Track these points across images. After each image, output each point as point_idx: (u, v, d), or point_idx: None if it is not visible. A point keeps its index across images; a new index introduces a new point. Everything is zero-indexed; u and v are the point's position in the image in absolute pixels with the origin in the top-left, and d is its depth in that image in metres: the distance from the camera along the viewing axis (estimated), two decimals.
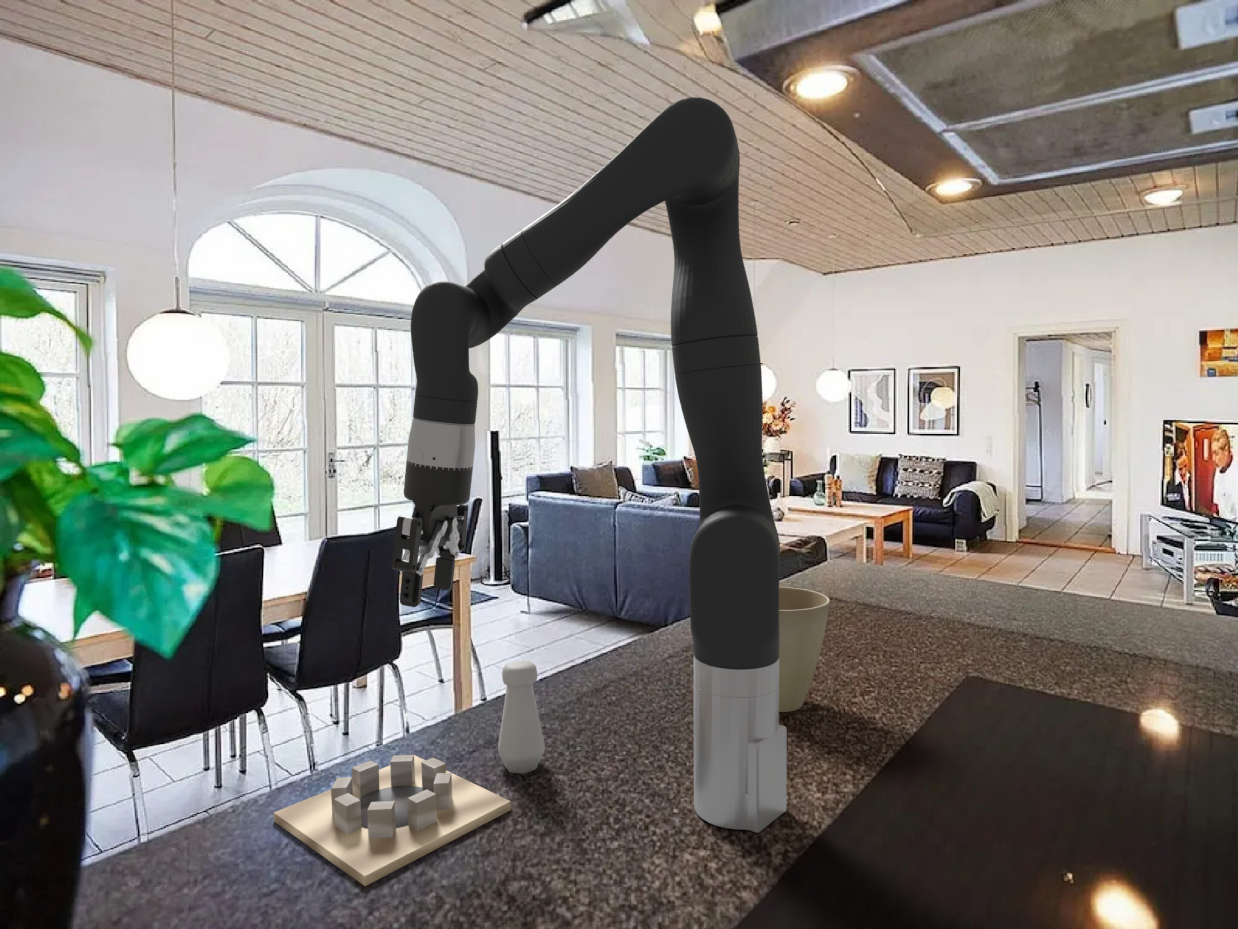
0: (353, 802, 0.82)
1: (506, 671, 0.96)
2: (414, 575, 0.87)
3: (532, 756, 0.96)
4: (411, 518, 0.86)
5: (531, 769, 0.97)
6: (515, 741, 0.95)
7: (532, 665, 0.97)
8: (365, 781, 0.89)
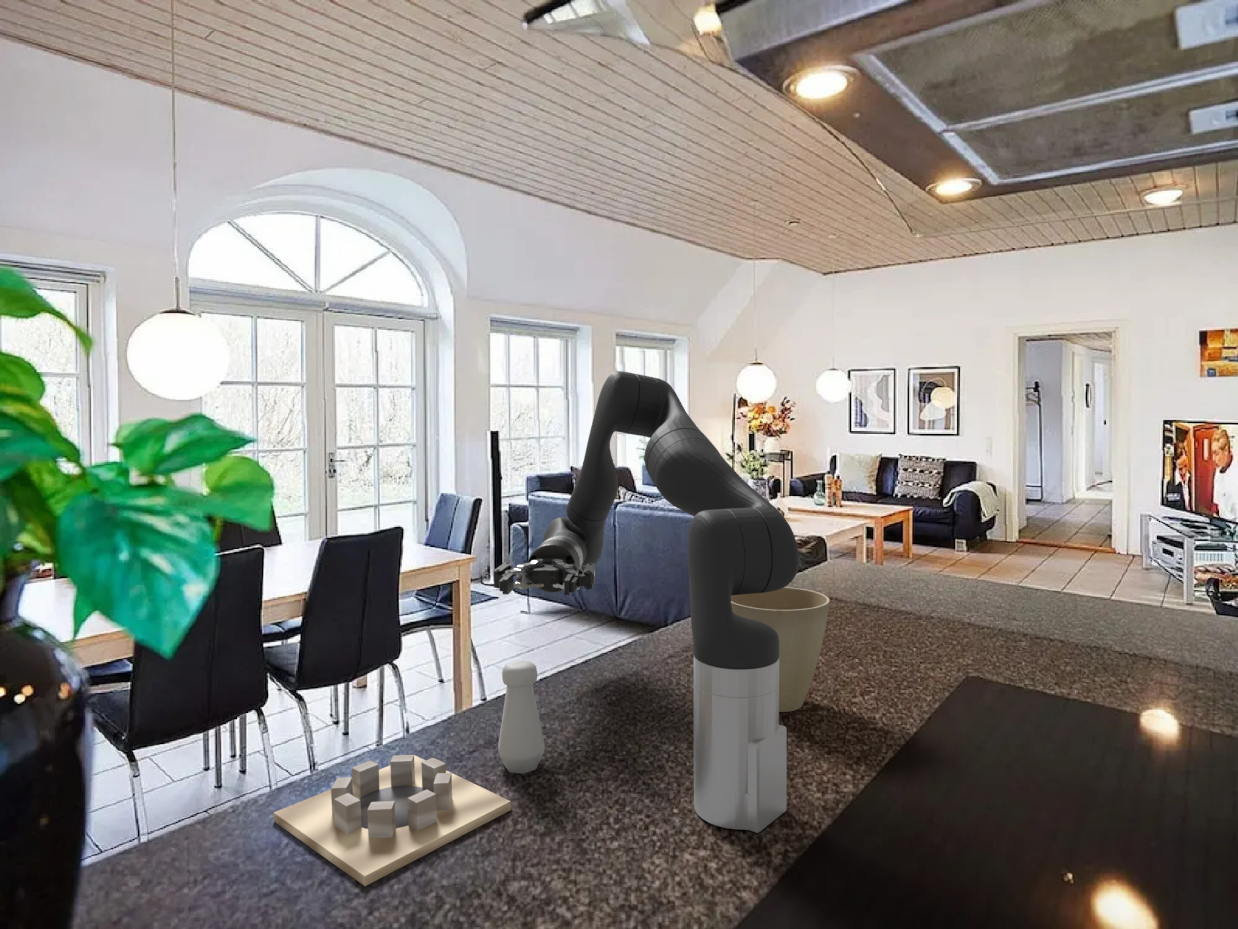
0: (353, 802, 0.82)
1: (507, 671, 0.96)
2: (504, 576, 1.12)
3: (532, 756, 0.96)
4: None
5: (531, 769, 0.97)
6: (515, 741, 0.95)
7: (532, 665, 0.97)
8: (365, 781, 0.89)
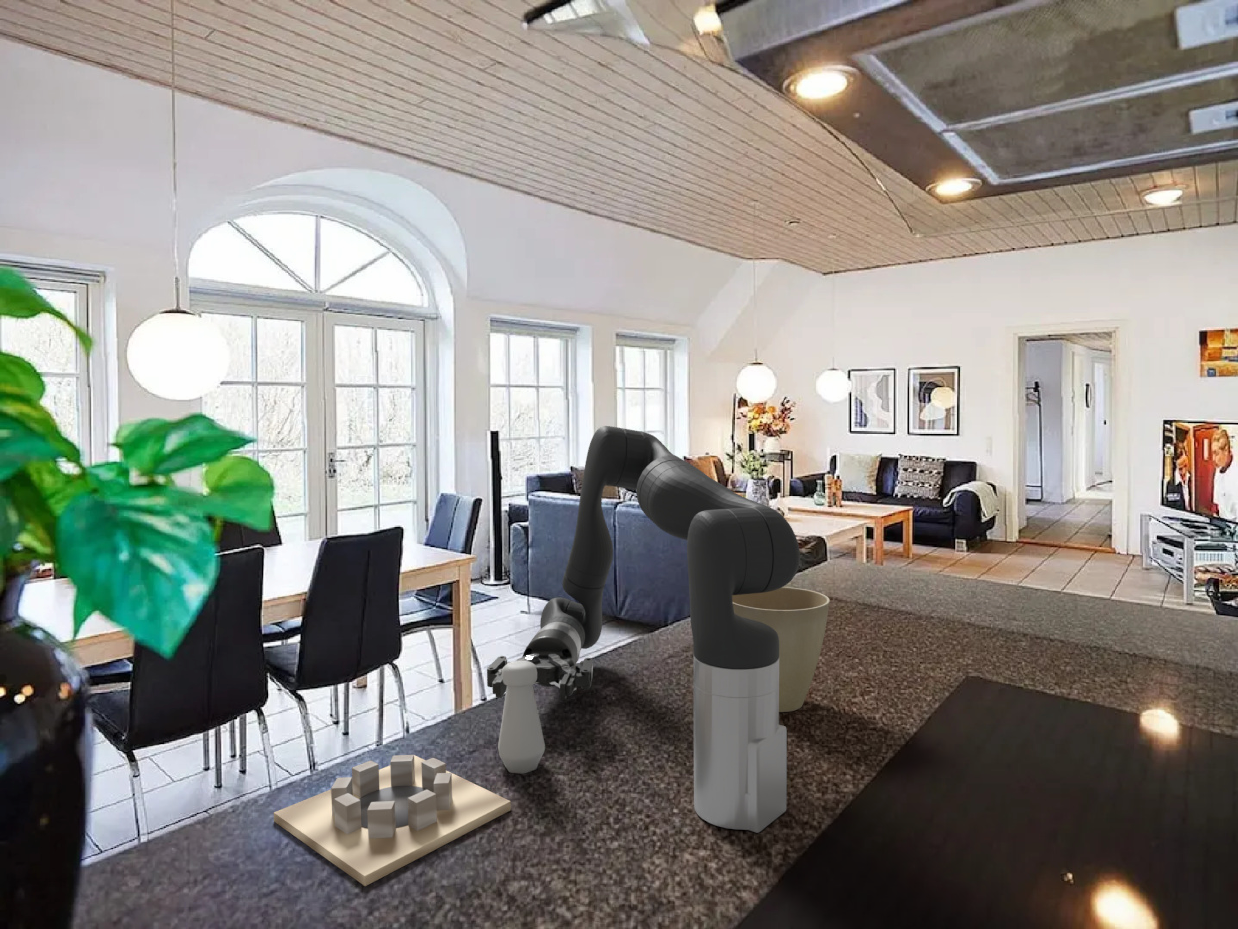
0: (353, 802, 0.82)
1: (506, 671, 0.96)
2: (497, 675, 1.07)
3: (532, 756, 0.96)
4: None
5: (531, 769, 0.97)
6: (515, 741, 0.95)
7: (532, 665, 0.97)
8: (365, 781, 0.89)
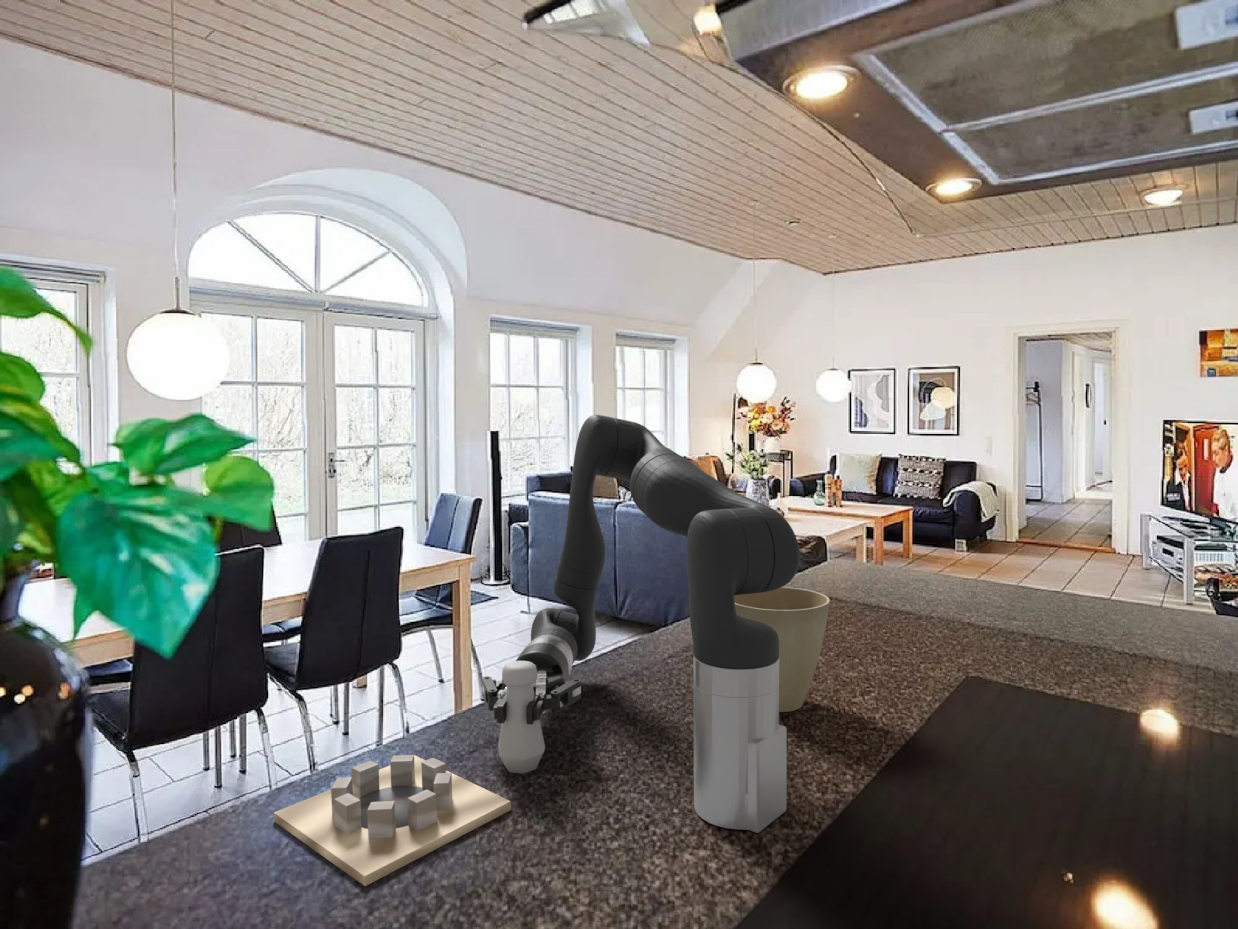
0: (353, 802, 0.82)
1: (506, 671, 0.96)
2: (499, 698, 0.99)
3: (532, 756, 0.96)
4: None
5: (531, 769, 0.97)
6: (515, 741, 0.95)
7: (532, 665, 0.97)
8: (365, 781, 0.89)
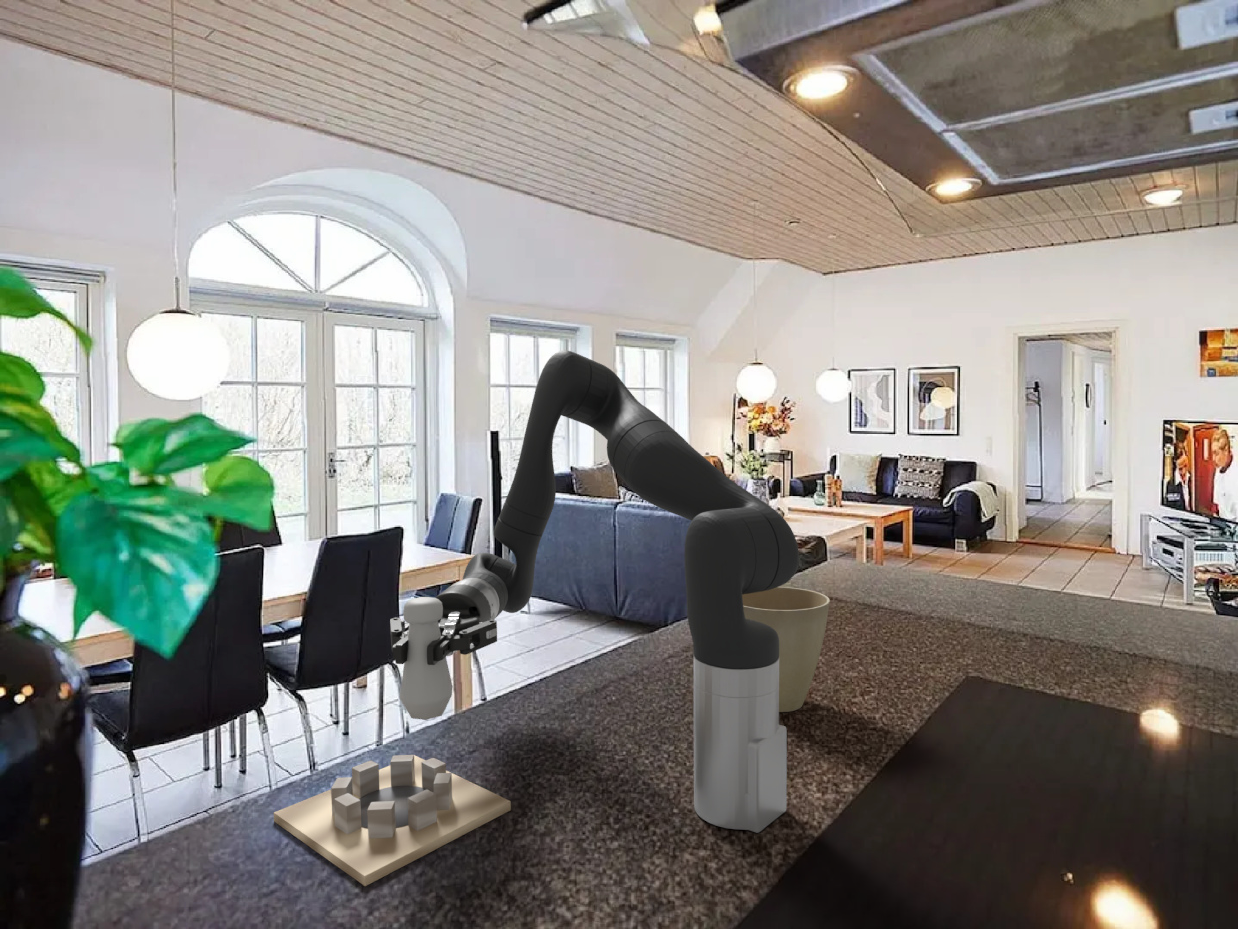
0: (353, 802, 0.82)
1: (407, 606, 0.87)
2: (402, 638, 0.90)
3: (435, 700, 0.87)
4: None
5: (435, 715, 0.88)
6: (416, 683, 0.86)
7: (436, 601, 0.88)
8: (365, 781, 0.89)
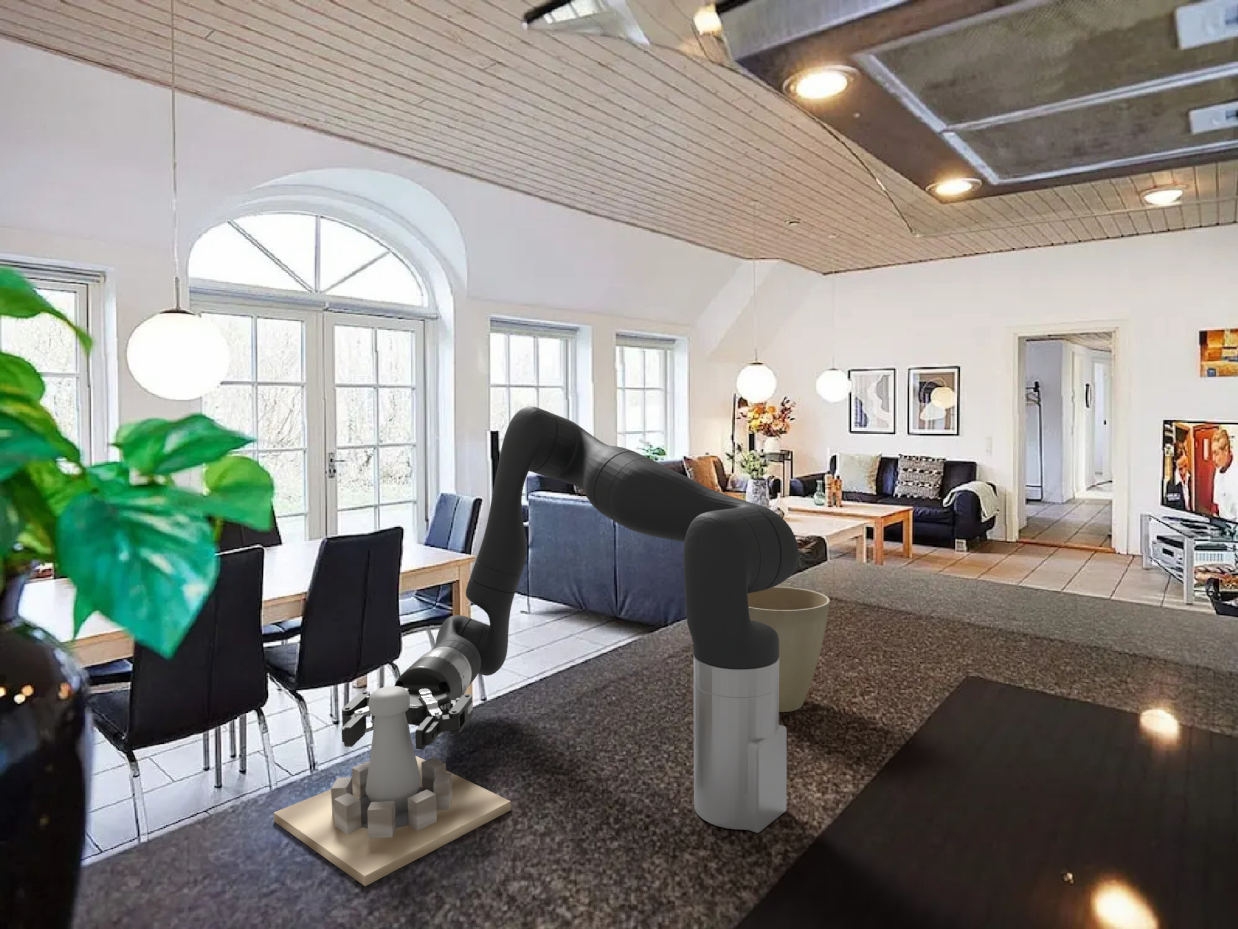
0: (353, 802, 0.82)
1: (372, 699, 0.84)
2: (353, 717, 0.88)
3: (402, 796, 0.84)
4: None
5: (402, 810, 0.85)
6: (381, 778, 0.84)
7: (403, 692, 0.85)
8: (365, 781, 0.89)
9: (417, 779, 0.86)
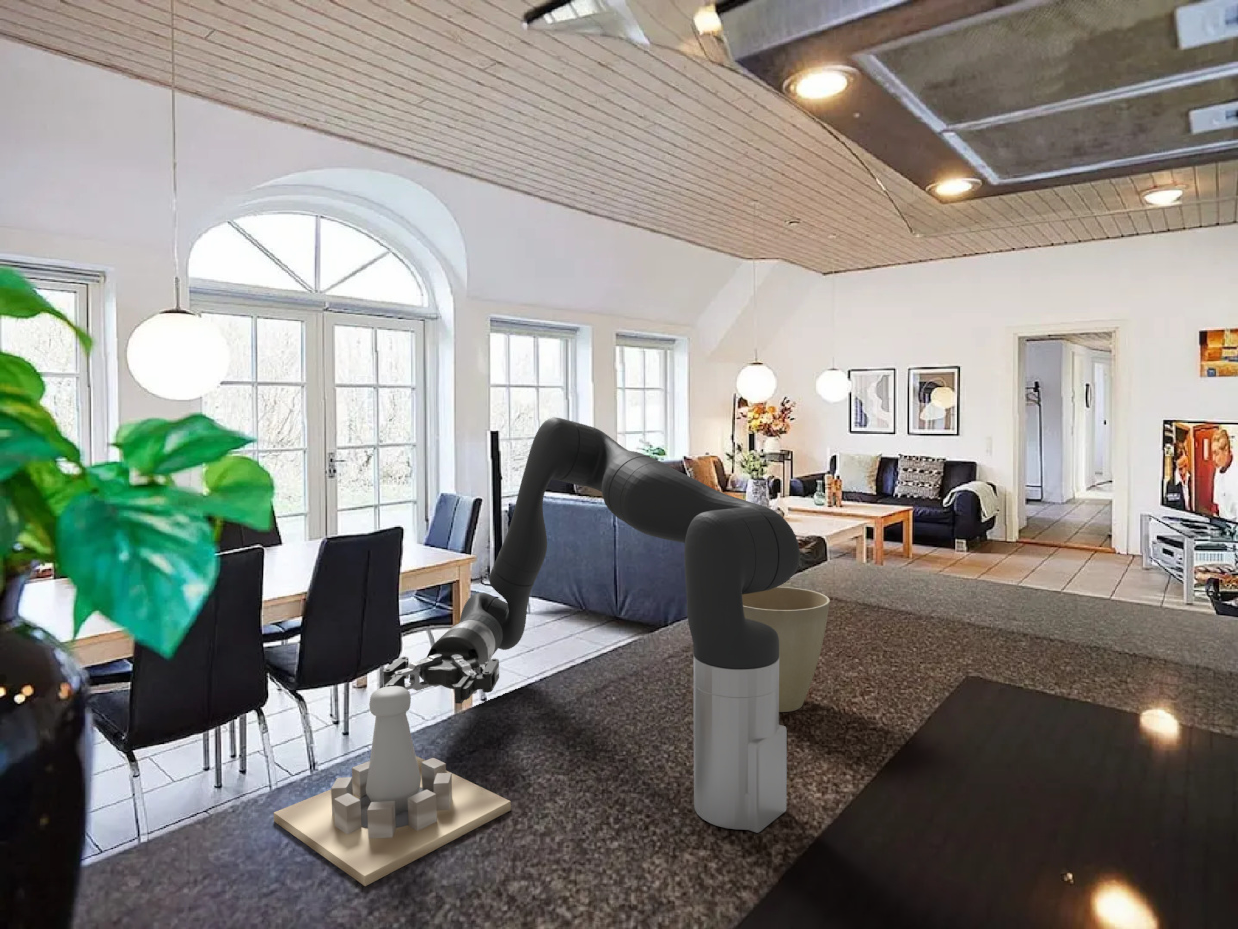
0: (353, 802, 0.82)
1: (373, 699, 0.84)
2: (393, 677, 1.01)
3: (402, 796, 0.84)
4: None
5: (402, 810, 0.85)
6: (382, 778, 0.84)
7: (404, 692, 0.86)
8: (365, 781, 0.89)
9: (417, 779, 0.86)
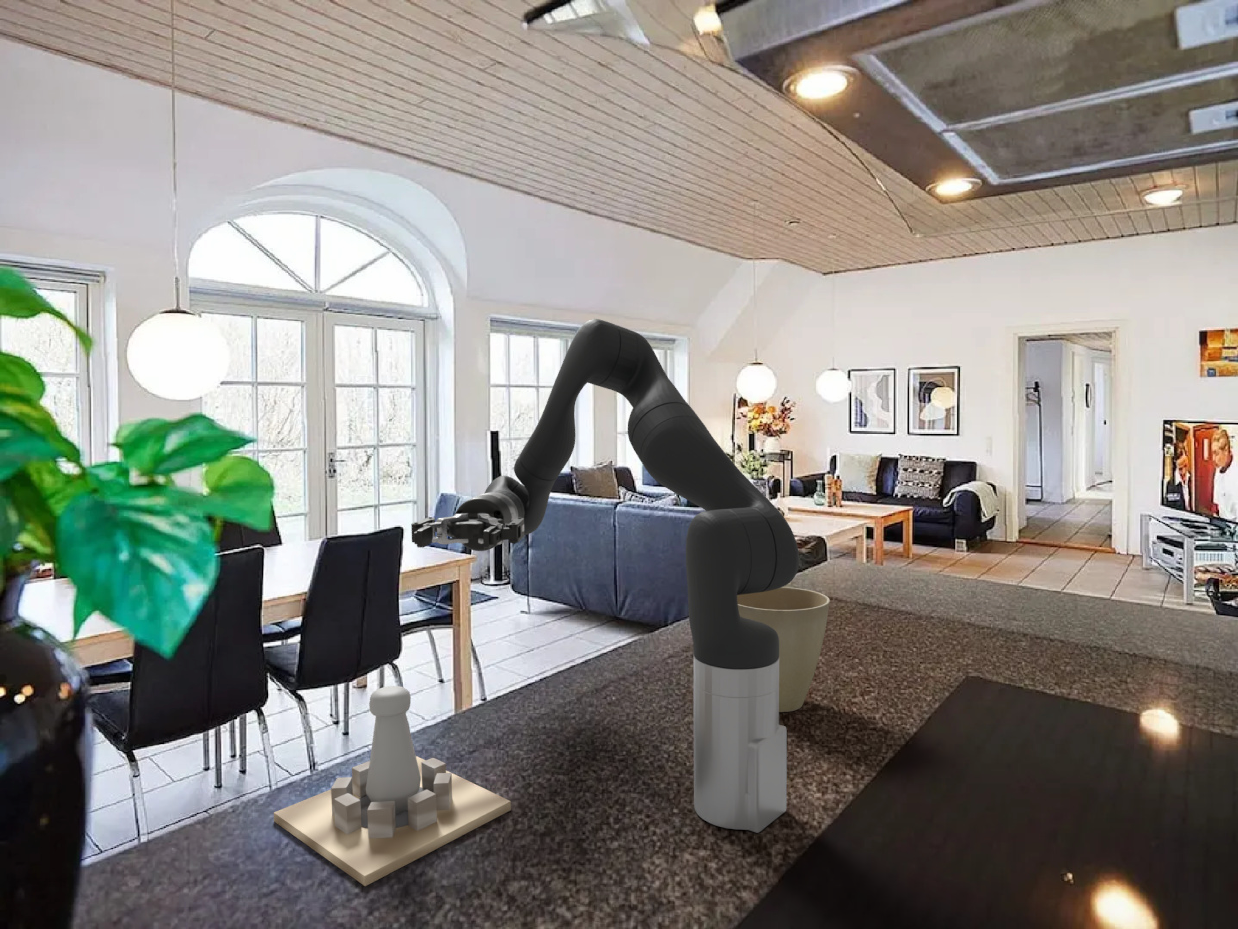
0: (353, 802, 0.82)
1: (373, 699, 0.84)
2: None
3: (402, 796, 0.84)
4: None
5: (402, 810, 0.85)
6: (382, 778, 0.84)
7: (404, 692, 0.86)
8: (365, 781, 0.89)
9: (417, 779, 0.86)
